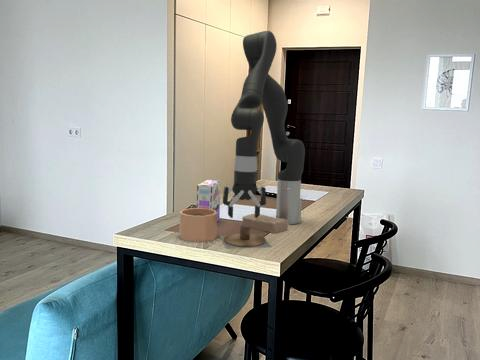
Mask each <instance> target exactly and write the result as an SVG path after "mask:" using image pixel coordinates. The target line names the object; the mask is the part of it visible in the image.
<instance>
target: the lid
mask: <svg viewBox="0 0 480 360" xmlns="http://www.w3.org/2000/svg"><path fill="white" fill-rule="evenodd" d="M239 229H240V230H239V231H240V232H239V233H230V234H227V236H225V237H224V242H225V243H226V244H229V245H232V246H237V247H256V246H261V245H263V244H265V241H267V240H266V238H265V237H264V236H263V235H262V236H263V237H262V236H260V235H259V234H254V233H251V227H248V226H243V225H242V226H240V228H239Z"/></svg>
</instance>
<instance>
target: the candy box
mask: <svg viewBox="0 0 480 360" xmlns="http://www.w3.org/2000/svg"><path fill="white" fill-rule="evenodd" d="M220 199H221V180H215V179H206V180H205V181H203V182H200V183H199V184H197V185H196V208H205V209H212V210H215V211H216V212H217V223H218V222H219V221H220V220H221V219H220V215H221V214H220V213H221V211H220V207H221V206H220V205H221V203H220V202H221V200H220Z"/></svg>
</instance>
